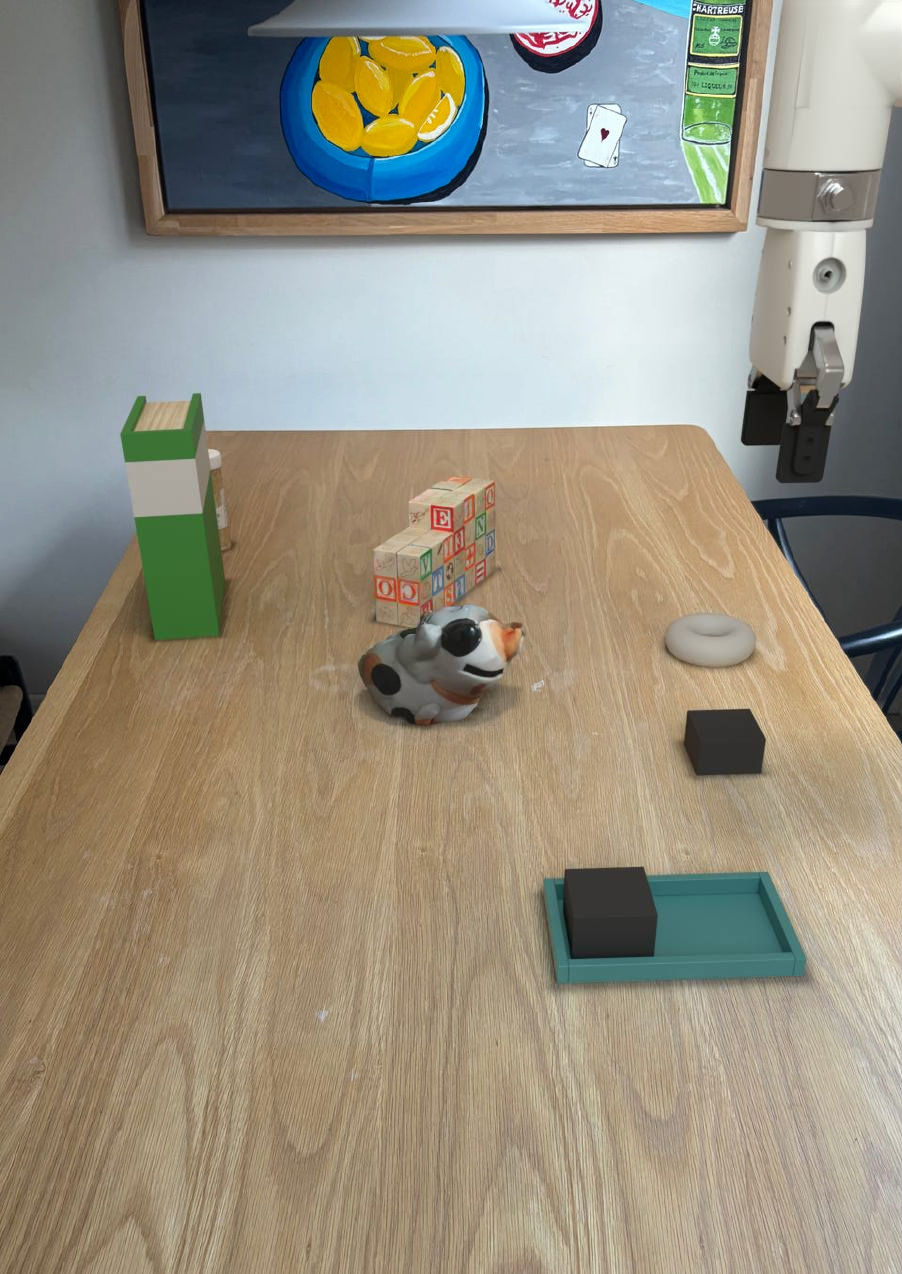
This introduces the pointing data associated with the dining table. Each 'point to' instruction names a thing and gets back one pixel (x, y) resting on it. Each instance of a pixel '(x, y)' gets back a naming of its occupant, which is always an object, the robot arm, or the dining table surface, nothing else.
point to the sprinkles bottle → (219, 498)
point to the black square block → (724, 742)
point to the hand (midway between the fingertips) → (779, 462)
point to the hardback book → (175, 516)
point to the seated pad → (609, 913)
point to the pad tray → (693, 932)
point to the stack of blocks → (436, 551)
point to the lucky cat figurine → (440, 664)
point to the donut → (710, 639)
